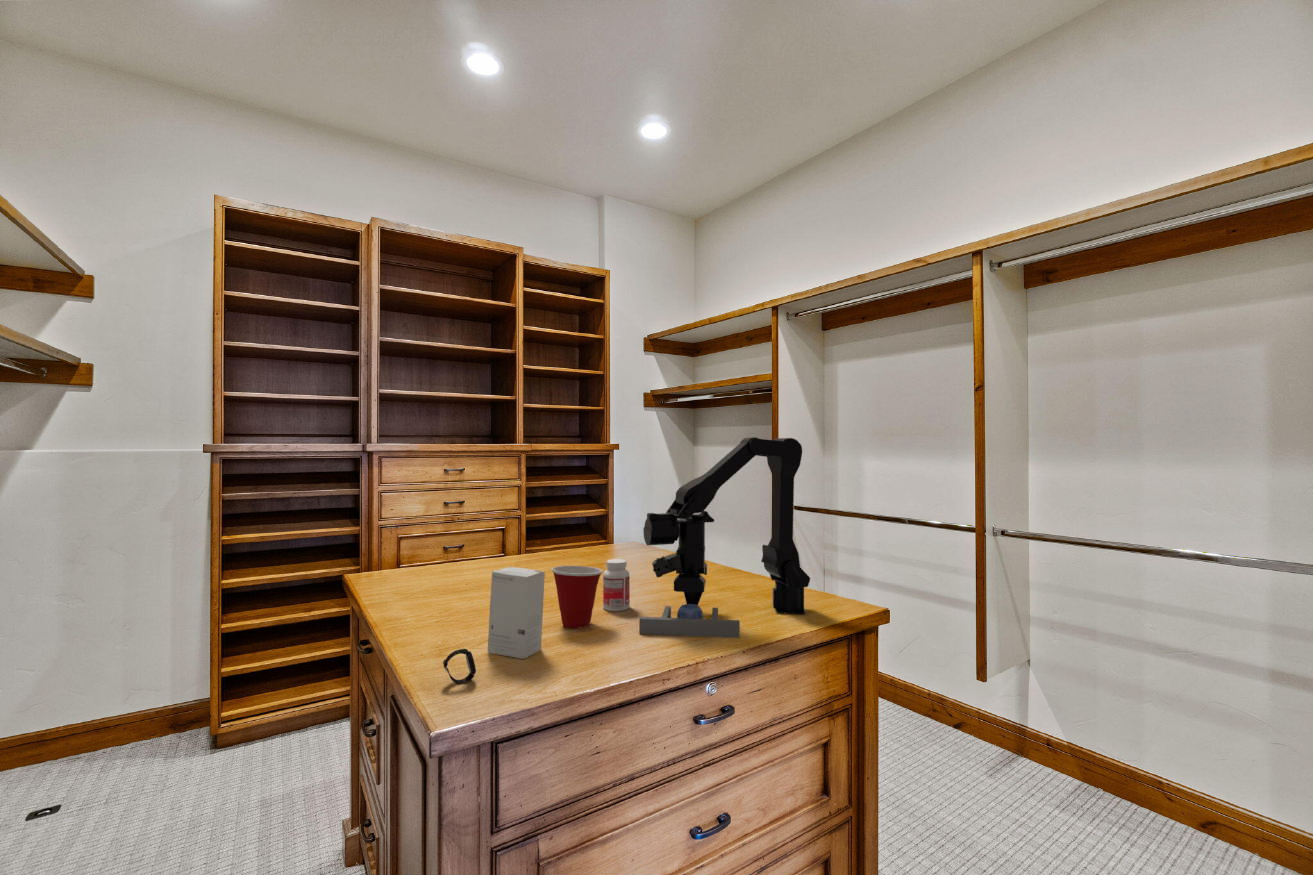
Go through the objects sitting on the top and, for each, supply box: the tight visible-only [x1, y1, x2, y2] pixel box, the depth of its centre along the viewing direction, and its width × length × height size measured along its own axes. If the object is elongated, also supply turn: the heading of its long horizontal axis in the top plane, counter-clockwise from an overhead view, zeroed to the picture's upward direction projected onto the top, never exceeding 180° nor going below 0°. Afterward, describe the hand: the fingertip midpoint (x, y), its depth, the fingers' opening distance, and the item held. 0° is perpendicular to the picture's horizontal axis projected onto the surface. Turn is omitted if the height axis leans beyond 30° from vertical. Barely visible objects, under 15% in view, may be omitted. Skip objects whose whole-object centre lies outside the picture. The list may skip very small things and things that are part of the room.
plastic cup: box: [551, 565, 604, 630], centre depth 120 cm, size 11×11×12 cm
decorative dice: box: [676, 604, 704, 619], centre depth 119 cm, size 4×4×4 cm
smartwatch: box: [442, 648, 477, 685], centre depth 90 cm, size 4×5×5 cm
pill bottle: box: [602, 558, 631, 612], centre depth 132 cm, size 6×6×11 cm
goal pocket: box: [638, 605, 741, 639], centre depth 117 cm, size 20×10×3 cm, turn 83°
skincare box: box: [487, 566, 546, 660], centre depth 104 cm, size 8×6×15 cm
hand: (691, 614), depth 123 cm, fingers closed
